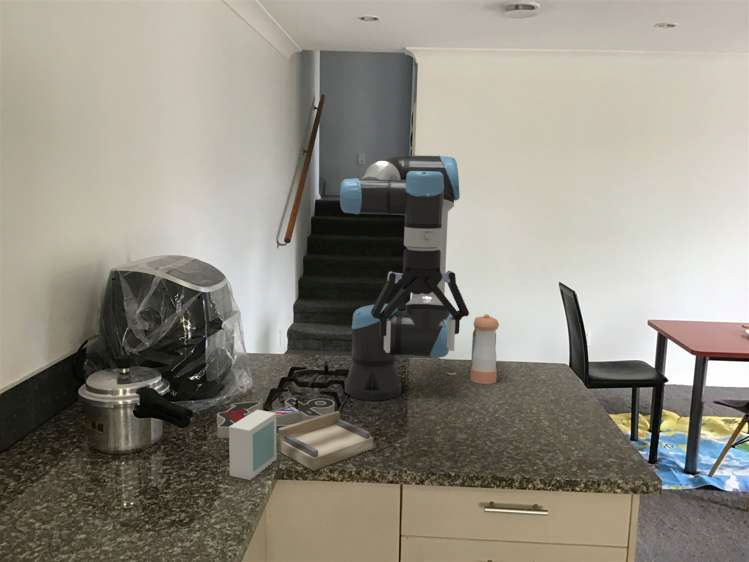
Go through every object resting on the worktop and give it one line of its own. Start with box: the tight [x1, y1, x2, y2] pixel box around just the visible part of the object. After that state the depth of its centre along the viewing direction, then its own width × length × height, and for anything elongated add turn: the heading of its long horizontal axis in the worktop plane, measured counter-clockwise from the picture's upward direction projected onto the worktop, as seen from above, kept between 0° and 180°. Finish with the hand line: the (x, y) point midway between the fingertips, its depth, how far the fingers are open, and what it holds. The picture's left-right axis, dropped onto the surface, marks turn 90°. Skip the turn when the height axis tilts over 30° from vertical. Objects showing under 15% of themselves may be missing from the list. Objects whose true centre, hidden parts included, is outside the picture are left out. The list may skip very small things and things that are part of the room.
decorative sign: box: [216, 397, 336, 446], centre depth 155 cm, size 22×3×30 cm
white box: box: [228, 409, 278, 481], centre depth 131 cm, size 5×10×10 cm, turn 158°
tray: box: [277, 410, 374, 472], centre depth 140 cm, size 12×16×5 cm
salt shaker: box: [470, 314, 500, 385], centre depth 188 cm, size 7×7×19 cm
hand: (418, 350), depth 138 cm, fingers open, 13 cm apart
